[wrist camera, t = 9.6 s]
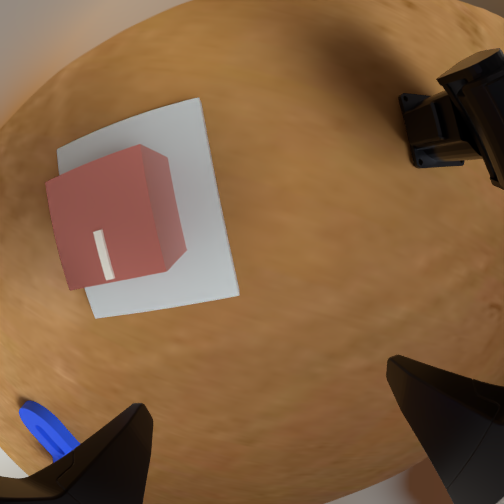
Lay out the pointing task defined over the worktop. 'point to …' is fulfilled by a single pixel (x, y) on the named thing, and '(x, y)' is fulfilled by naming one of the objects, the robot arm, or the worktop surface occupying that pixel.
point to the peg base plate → (188, 203)
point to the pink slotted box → (116, 218)
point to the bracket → (47, 429)
